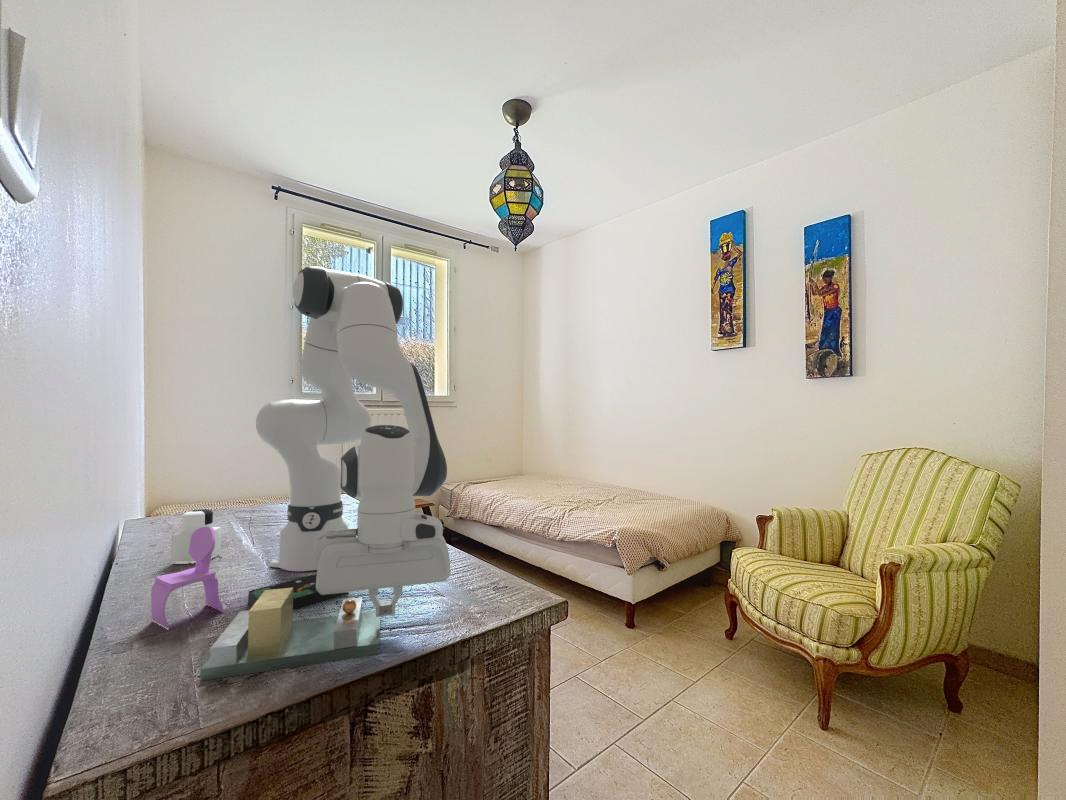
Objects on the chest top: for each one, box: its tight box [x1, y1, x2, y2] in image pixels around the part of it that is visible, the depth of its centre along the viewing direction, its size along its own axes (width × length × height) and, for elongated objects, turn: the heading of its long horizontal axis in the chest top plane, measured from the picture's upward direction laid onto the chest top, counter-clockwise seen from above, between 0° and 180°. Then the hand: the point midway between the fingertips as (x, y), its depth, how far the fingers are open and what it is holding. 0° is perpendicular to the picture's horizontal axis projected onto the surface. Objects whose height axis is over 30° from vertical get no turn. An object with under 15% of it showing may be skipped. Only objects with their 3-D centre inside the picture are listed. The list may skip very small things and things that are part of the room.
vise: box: [199, 609, 382, 682], centre depth 67 cm, size 12×22×4 cm, turn 107°
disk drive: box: [247, 573, 350, 612], centre depth 85 cm, size 10×3×15 cm
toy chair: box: [150, 526, 225, 628], centre depth 77 cm, size 8×9×15 cm
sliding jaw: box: [334, 597, 363, 649], centre depth 69 cm, size 12×3×4 cm, turn 17°
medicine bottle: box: [170, 508, 222, 561], centre depth 109 cm, size 7×7×12 cm
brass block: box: [248, 587, 294, 655], centre depth 66 cm, size 4×8×6 cm, turn 17°
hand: (385, 614), depth 71 cm, fingers closed
